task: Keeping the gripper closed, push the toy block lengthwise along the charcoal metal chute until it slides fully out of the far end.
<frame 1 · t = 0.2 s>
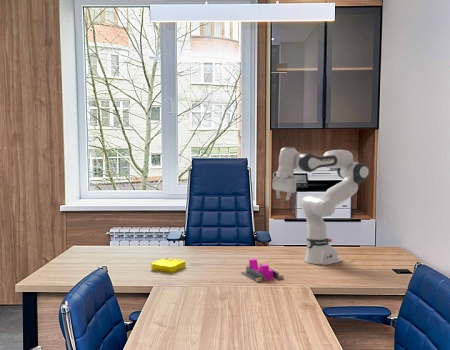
hand: (282, 199, 268), 39 cm above the table, tool pointing down, fingers open, 8 cm apart
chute: (262, 275, 252), on the table
yellow flat square slab: (168, 269, 266), on the table
toy block: (260, 276, 252), resting in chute
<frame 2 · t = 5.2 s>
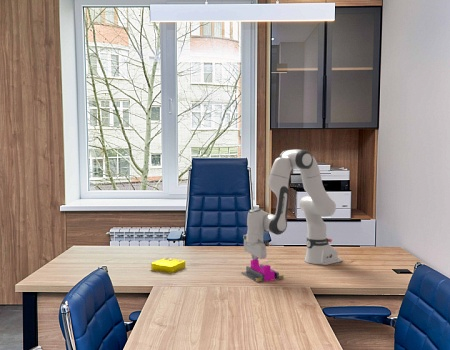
hand: (255, 262, 258), 5 cm above the table, tool pointing down, fingers closed
toy block: (262, 276, 250), resting in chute, touching gripper
everything else where it was.
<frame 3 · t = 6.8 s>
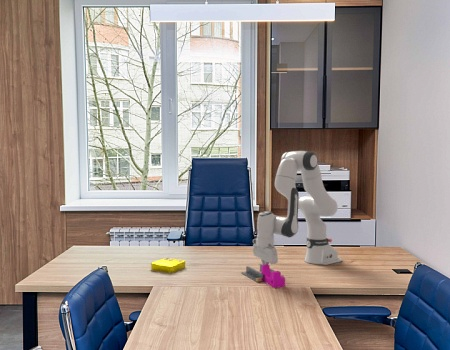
hand: (265, 268, 248), 5 cm above the table, tool pointing down, fingers closed
toy block: (272, 283, 240), on the table, touching gripper
everything else where it was.
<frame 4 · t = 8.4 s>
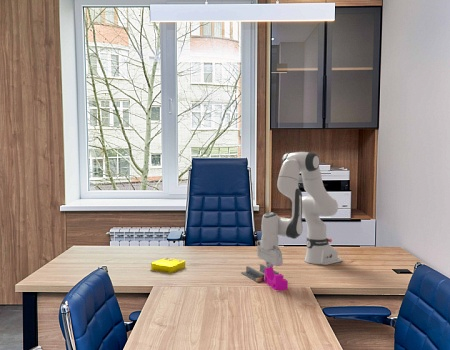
hand: (269, 270, 244), 5 cm above the table, tool pointing down, fingers closed
toy block: (275, 286, 235), on the table
everything else where it was.
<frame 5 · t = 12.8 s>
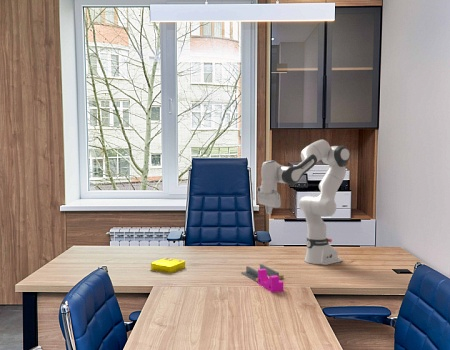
hand: (268, 213, 264), 31 cm above the table, tool pointing down, fingers closed
toy block: (270, 287, 233), on the table
everything else where it was.
at the end: toy block inside the target area (5.6 cm from its centre), on the table; toy block tilted 0° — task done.
